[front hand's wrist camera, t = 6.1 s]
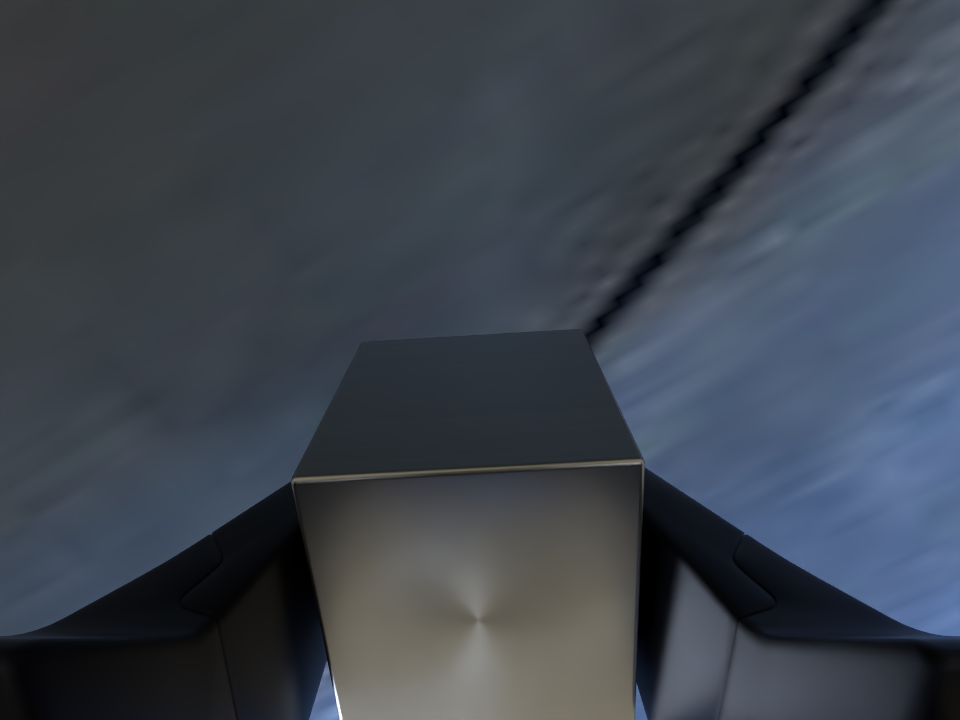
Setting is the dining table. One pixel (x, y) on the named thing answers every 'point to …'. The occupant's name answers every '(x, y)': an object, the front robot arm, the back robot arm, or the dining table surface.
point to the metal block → (476, 532)
